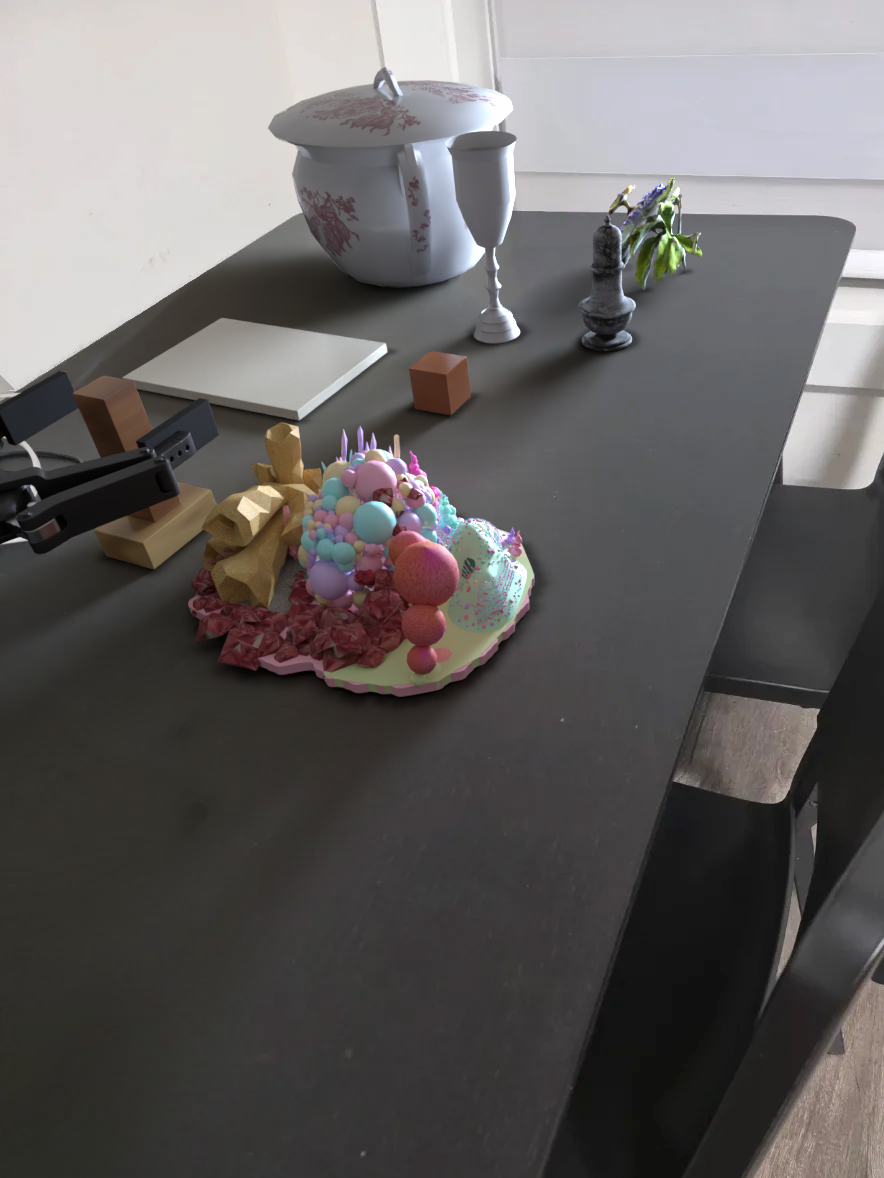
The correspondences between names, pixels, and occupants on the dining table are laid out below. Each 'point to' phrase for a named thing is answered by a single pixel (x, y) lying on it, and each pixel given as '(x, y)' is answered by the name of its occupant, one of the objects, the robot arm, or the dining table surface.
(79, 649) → the dining table surface
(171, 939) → the dining table surface
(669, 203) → the passion flower
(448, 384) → the clay cube
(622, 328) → the salt shaker
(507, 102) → the chamber pot
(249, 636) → the pastel sphere sculpture
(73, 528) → the robot arm
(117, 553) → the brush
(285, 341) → the tile
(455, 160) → the chalice
